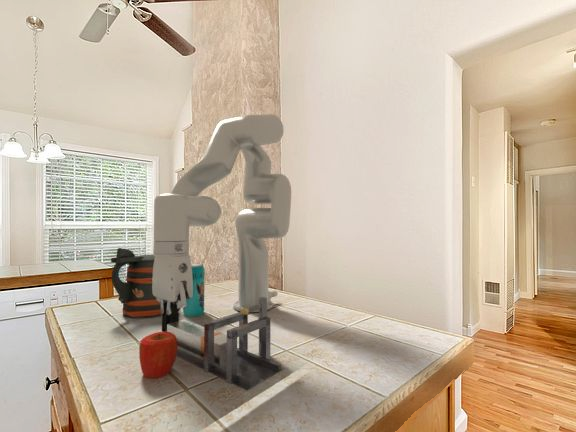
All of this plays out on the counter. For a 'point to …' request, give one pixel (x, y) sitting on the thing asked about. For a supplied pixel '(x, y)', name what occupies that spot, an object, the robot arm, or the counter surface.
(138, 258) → the beer stein
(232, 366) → the collar
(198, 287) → the beverage can
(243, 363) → the rail plate
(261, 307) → the frame
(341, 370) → the counter surface
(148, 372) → the apple
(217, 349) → the white box
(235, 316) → the collar
